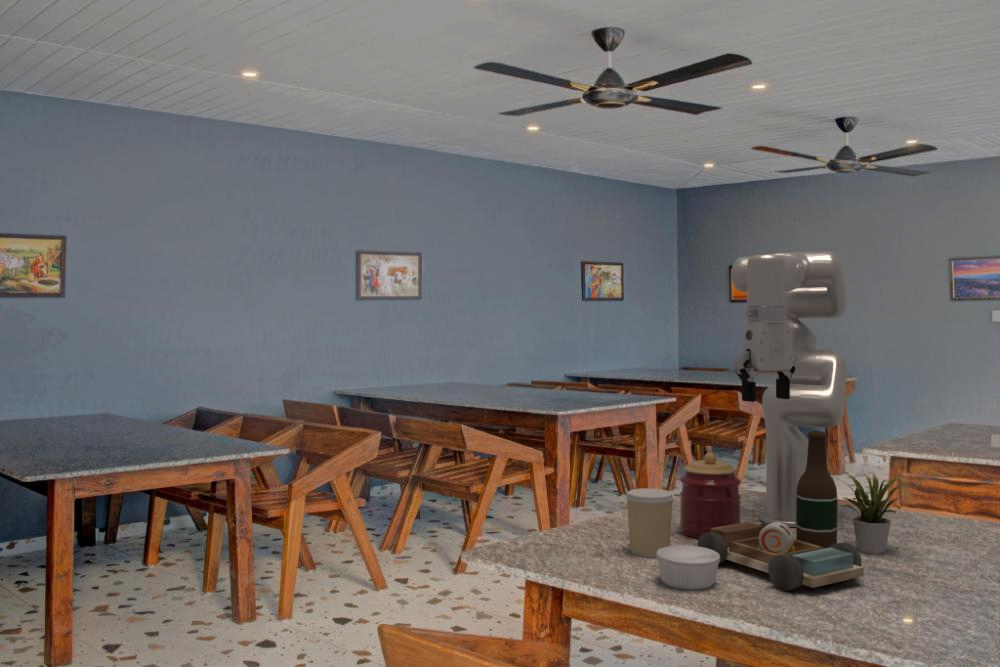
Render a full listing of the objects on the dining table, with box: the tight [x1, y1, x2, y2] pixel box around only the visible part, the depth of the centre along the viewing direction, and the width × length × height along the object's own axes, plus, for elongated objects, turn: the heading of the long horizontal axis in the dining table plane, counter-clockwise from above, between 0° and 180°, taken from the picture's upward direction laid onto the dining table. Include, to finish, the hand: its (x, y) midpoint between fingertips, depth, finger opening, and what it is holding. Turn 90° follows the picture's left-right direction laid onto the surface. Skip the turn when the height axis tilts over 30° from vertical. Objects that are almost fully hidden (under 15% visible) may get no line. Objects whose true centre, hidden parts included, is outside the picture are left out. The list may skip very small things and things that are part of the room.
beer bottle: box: [795, 430, 838, 548], centre depth 179 cm, size 8×8×24 cm
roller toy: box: [759, 522, 795, 555], centre depth 165 cm, size 4×6×6 cm
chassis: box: [696, 521, 865, 592], centre depth 165 cm, size 28×17×6 cm, turn 30°
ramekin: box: [655, 544, 720, 591], centre depth 158 cm, size 11×11×5 cm
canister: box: [679, 452, 742, 539], centre depth 192 cm, size 13×13×18 cm
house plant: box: [837, 470, 912, 555], centre depth 178 cm, size 14×14×16 cm
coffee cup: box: [625, 487, 674, 558], centre depth 178 cm, size 9×9×12 cm
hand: (766, 400), depth 179 cm, fingers open, 9 cm apart
